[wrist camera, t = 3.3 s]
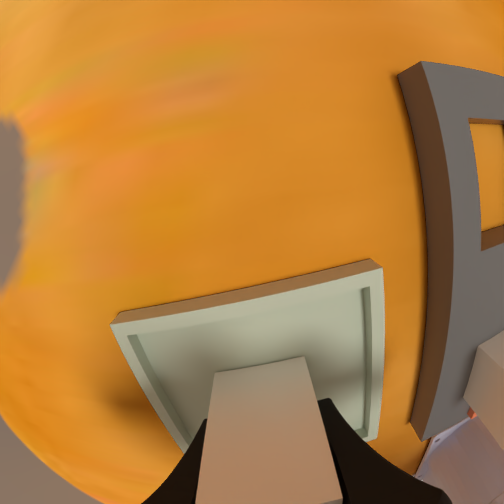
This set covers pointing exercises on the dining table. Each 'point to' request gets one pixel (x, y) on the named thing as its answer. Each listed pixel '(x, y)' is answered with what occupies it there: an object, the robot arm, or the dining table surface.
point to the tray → (264, 344)
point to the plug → (266, 439)
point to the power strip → (457, 251)
